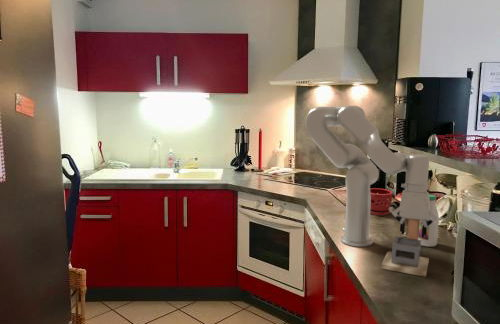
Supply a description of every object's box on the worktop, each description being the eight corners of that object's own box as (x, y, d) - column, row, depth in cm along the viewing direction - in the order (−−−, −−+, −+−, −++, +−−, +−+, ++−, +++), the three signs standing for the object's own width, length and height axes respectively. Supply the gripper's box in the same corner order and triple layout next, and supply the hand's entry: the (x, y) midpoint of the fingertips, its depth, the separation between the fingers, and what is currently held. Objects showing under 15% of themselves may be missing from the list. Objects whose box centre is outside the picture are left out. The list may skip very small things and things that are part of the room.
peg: (403, 251, 153) (405, 210, 151) (412, 250, 154) (415, 210, 152) (410, 255, 149) (413, 213, 147) (420, 254, 150) (422, 212, 148)
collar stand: (381, 268, 137) (382, 244, 136) (387, 255, 149) (388, 233, 148) (425, 276, 131) (427, 251, 129) (428, 262, 143) (430, 239, 142)
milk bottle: (431, 240, 166) (434, 193, 163) (440, 247, 158) (444, 197, 155) (412, 240, 166) (416, 193, 163) (421, 247, 158) (424, 197, 155)
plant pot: (359, 211, 210) (360, 189, 209) (378, 209, 216) (379, 187, 214) (376, 218, 199) (378, 194, 197) (396, 215, 204) (398, 192, 202)
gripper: (389, 187, 148) (387, 234, 151) (441, 192, 141) (437, 241, 143) (392, 184, 155) (390, 229, 158) (442, 188, 147) (438, 235, 150)
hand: (412, 234), depth 150 cm, fingers open, 6 cm apart
